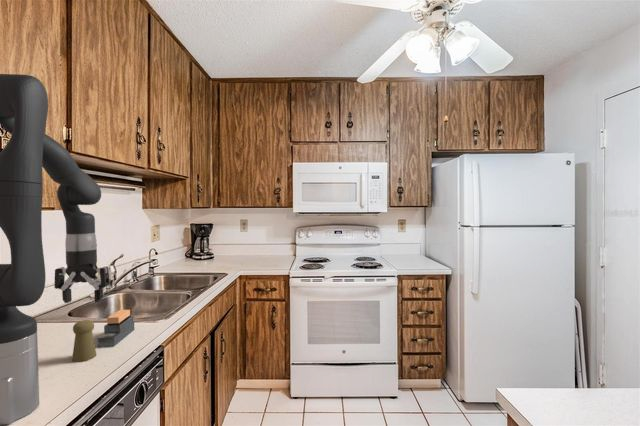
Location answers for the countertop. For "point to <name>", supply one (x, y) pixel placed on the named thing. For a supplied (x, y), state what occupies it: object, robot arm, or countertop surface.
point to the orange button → (118, 316)
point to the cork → (83, 341)
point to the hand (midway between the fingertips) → (83, 301)
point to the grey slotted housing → (116, 332)
